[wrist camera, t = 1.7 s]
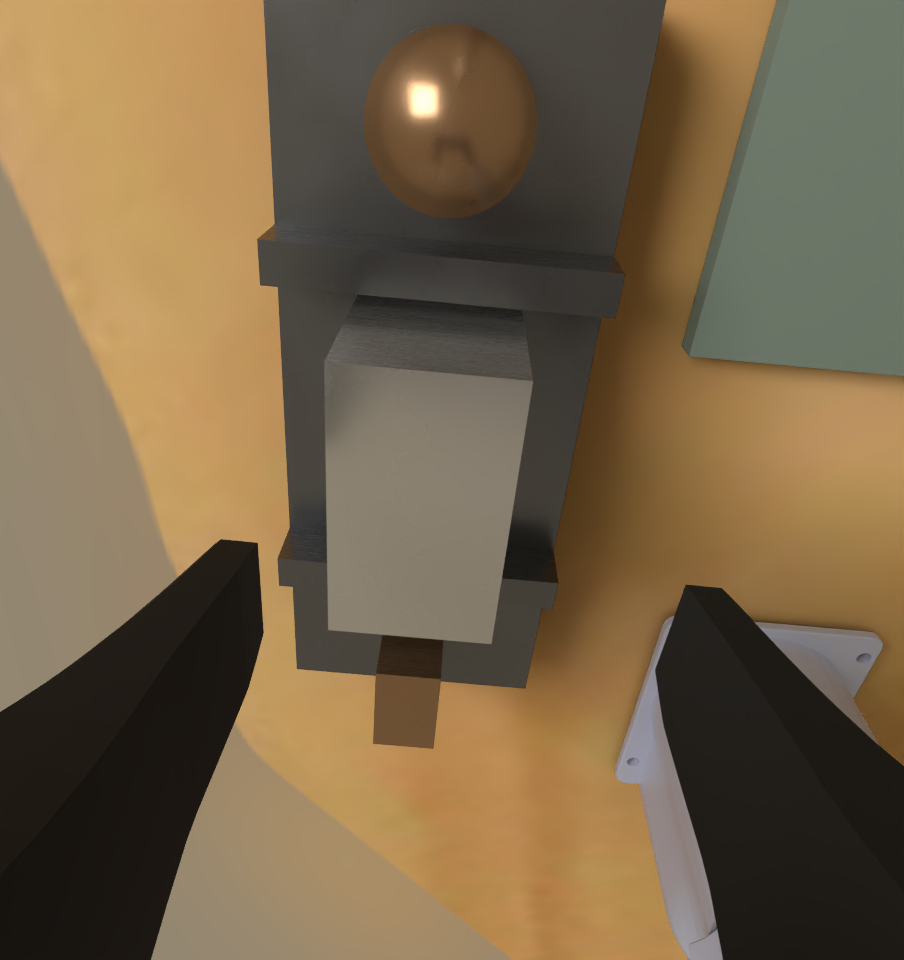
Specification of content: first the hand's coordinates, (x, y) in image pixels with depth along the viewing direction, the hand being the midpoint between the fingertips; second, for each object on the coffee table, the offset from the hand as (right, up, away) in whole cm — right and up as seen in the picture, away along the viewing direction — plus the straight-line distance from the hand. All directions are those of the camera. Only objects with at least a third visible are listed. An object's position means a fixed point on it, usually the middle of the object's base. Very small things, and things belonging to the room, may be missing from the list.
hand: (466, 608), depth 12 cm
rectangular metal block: (-1, +4, +7) cm, 8 cm away
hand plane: (-1, +5, +9) cm, 10 cm away
